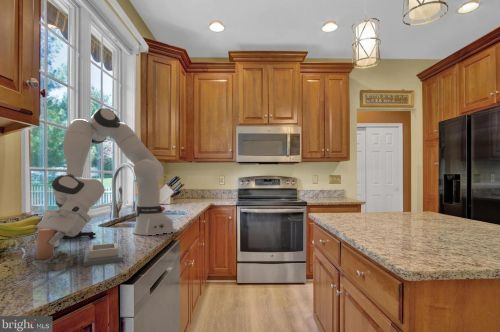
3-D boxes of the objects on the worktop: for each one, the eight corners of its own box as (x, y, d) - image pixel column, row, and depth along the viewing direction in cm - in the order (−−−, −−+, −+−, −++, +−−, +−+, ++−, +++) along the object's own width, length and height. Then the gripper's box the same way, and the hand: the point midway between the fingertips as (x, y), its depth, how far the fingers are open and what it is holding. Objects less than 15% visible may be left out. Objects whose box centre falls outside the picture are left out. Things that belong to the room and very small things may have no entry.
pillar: (54, 254, 101) (55, 227, 102) (52, 258, 97) (53, 230, 97) (37, 256, 99) (39, 228, 99) (34, 260, 94) (36, 231, 95)
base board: (119, 250, 109) (120, 240, 109) (122, 261, 95) (123, 250, 95) (85, 253, 103) (85, 243, 103) (83, 266, 89) (83, 254, 89)
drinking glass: (50, 249, 108) (52, 212, 108) (36, 248, 109) (38, 211, 110) (65, 245, 114) (67, 210, 115) (52, 244, 116) (54, 209, 116)
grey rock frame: (60, 261, 95) (61, 249, 95) (82, 261, 95) (82, 250, 95) (37, 272, 84) (38, 258, 84) (61, 272, 84) (62, 259, 84)
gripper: (50, 205, 109) (20, 234, 100) (84, 209, 101) (55, 240, 91) (61, 215, 113) (33, 244, 103) (94, 219, 105) (67, 250, 95)
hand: (43, 242), depth 97 cm, fingers closed on pillar, 5 cm apart
